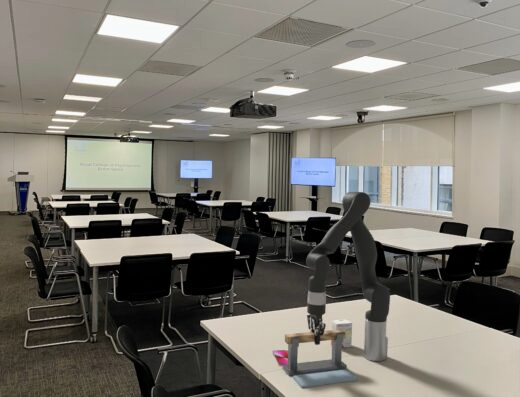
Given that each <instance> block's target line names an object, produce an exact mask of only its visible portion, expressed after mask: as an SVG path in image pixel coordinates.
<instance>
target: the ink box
mask: <svg viewBox="0 0 520 397" xmlns="http://www.w3.org/2000/svg"><path fill="white" fill-rule="evenodd" d="M340 329H342V330H344V331H345V339H343V342H342V349H344V348H351V347H352V339H353V337H352V336H353V322H352V321H350V320H349V319H336V320H335V319H333V320H332V321H331V330H340ZM330 342H331V343H330V345H331V346H332V340H330Z"/></svg>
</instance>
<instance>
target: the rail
mask: <svg viewBox="0 0 520 397" xmlns="http://www.w3.org/2000/svg"><path fill="white" fill-rule="evenodd" d="M342 333H343V334H344V335H343V339H345V331H344V330H342V329H340V330H332V329H330V330H324V334H323V336H320V342H326V341H331V340H336V334H342ZM291 338H299V344H304V343H314V342H315V332H310V331H308V332H300V333H299V332H298V333H285V334H284V342H285V343H286V345H288V344H291Z"/></svg>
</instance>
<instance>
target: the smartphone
mask: <svg viewBox="0 0 520 397" xmlns="http://www.w3.org/2000/svg"><path fill="white" fill-rule="evenodd" d="M272 356H273V358H274V359H275V361H276V364H277V365H278V366H279V367H282V365H286V364H288V349H287V350H286V349H285V350H282V349H281V350H279V349H277V350H272Z"/></svg>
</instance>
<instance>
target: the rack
mask: <svg viewBox="0 0 520 397" xmlns="http://www.w3.org/2000/svg"><path fill="white" fill-rule="evenodd" d="M343 335H344V334H343V333H342V334H336V340H332V345H331V358H330V359H324V360H323V359H322V360H316V361H315V360H313V361H305V362H298V353H299V351H298V350H299V347H300V343H299V338H291V344H287V351H288V364H286V365H282V366H281V368H282V369H283V371H284V372H285V373H286V375H287V376H289V377H290V376H296V375H305V374H313V373H321V372H329V371H338V370H346V369H347V370H348V365H347V364H346V363H345V362H344V361H343V360H342V357H343V356H342V354H343V352H342V351H343V348H342V342H343Z"/></svg>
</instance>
